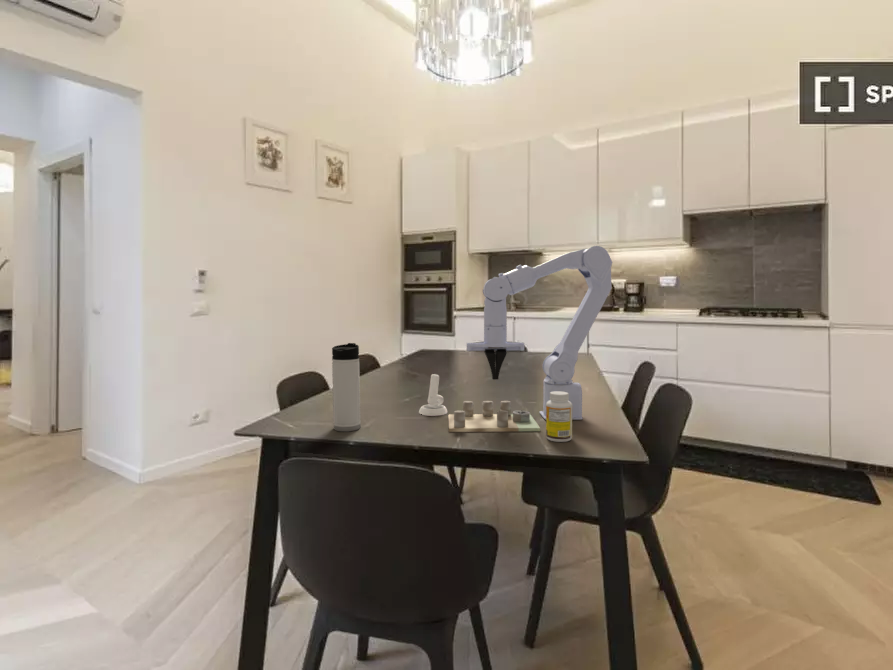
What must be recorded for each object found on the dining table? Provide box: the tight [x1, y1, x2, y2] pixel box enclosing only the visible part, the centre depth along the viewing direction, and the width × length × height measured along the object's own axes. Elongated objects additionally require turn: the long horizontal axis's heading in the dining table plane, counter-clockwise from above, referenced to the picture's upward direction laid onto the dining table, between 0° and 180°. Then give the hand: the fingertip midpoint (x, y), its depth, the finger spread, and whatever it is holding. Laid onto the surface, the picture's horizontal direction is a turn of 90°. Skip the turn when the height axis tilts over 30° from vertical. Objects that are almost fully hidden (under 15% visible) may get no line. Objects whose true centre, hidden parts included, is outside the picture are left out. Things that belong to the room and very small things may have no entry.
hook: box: [418, 373, 448, 417], centre depth 143 cm, size 8×12×7 cm
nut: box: [512, 410, 531, 423], centre depth 128 cm, size 5×4×2 cm
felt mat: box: [511, 413, 541, 432], centre depth 128 cm, size 5×14×1 cm, turn 0°
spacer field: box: [447, 400, 520, 433], centre depth 128 cm, size 16×14×4 cm
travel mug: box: [331, 342, 361, 433], centre depth 124 cm, size 6×7×20 cm
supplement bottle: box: [545, 391, 573, 443], centre depth 115 cm, size 6×6×10 cm
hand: (495, 378), depth 135 cm, fingers closed
